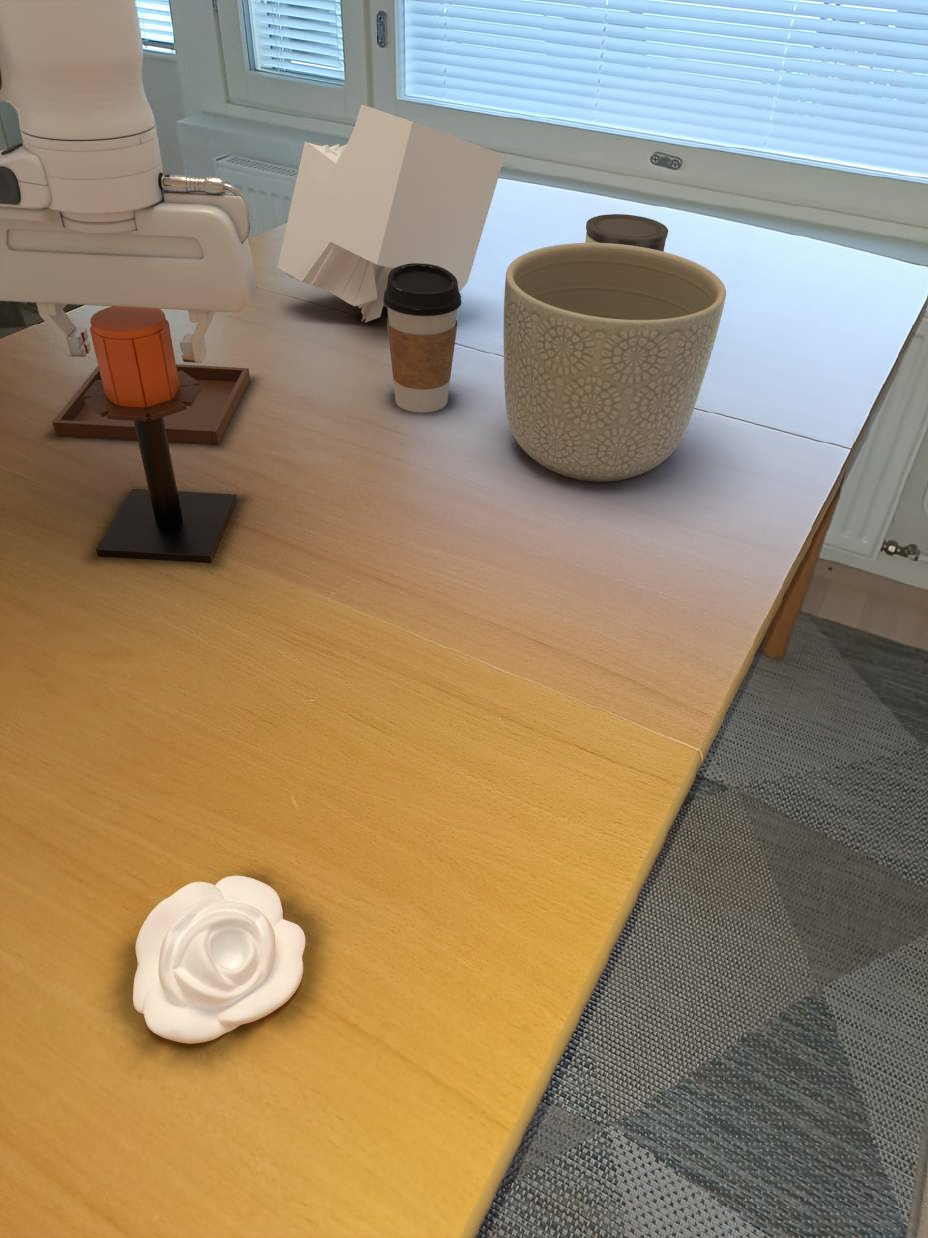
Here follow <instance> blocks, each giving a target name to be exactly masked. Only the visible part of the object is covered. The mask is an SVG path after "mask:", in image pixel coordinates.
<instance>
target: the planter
mask: <svg viewBox="0 0 928 1238" xmlns="http://www.w3.org/2000/svg"><path fill="white" fill-rule="evenodd" d="M503 294H504V297H503V303H504V304H503V382H504V383H503V384H504V385H503V387H504V400H505V411H506V419H507V422H508V426H509V429H510V431H511V434H512V436H513V438H514V439H515V441H516V443H517V444H518V446H519V447H520V448H521V449H522V450H523V452H525V453H526V454H527V456H529V457H530V458H531V459H532V460H533V461H535V462H536V463H538V464H539V465H541V466H542V467H543V468H545V469H547V470H549V471H551V472H553V473H555V474H558V475H560V476H563V477H566V478H569V479H573V480H579V481H585V482H594V483H595V482H596V483H605V482H606V483H608V482H618V481H623V480H627V479H632V478H634V477H637V476H641V475H642V474H645V473H647V472H649V471H651V470H652V469H654V468H656V467H657V466H659V465H661V464H662V463H663V462H664V461H665V460H667V459H668V458H669V457H670V456H671V455H672V454H673V453H674V452H675V450H676V449H677V448H678V446H679V444H680V443H681V441H682V439H683V438H684V435H685V433H686V431H687V428H688V426H689V423H690V420H691V418H692V416H693V412H694V409H695V407H696V404H697V402H698V398H699V395H700V392H701V389H702V385H703V382H704V379H705V375H706V372H707V369H708V365H709V362H710V360H711V356H712V353H713V349H714V346H715V342H716V339H717V336H718V332H719V327H720V324H721V321H722V316H723V311H724V307H725V304H726V303H725V302H726V297H727V290H726V286H725V284H724V283H723V281H722V280H721V279H720V278H719V276H717V275H716V274H715V273H714V272H712V271H711V270H709V269H708V268H706V267H705V266H704V265H701V264H699V263H697V262H695V261H693V260H691V259H688V258H685V257H683V256H679V255H676V254H674V253H670V252H667V251H664V252H663V251H659V250H654V249H649V248H644V247H638V246H631V245H623V244H611V243H585V242H576V243H575V242H572V243H563V244H555V245H550V246H545V247H541V248H537V249H534V250H531V251H528V252H526V253H523V254H521V255H520V256H518V257H517V258H515V259H514V260H512V261H511V263H510V264H509V265H508V267H507V268H506V272H505V280H504V293H503Z"/></svg>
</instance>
